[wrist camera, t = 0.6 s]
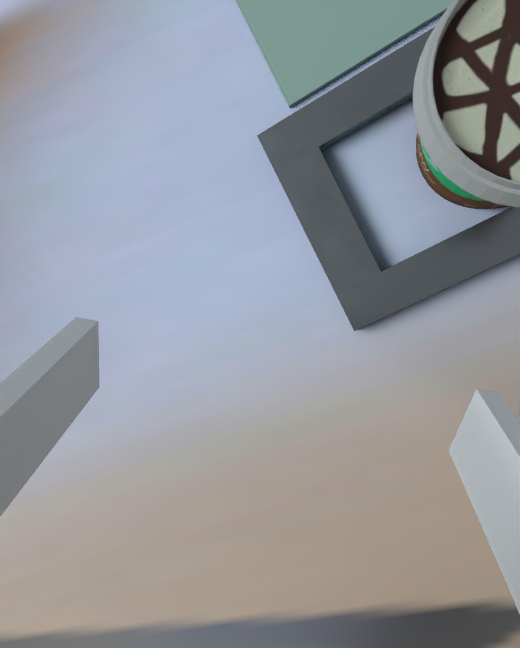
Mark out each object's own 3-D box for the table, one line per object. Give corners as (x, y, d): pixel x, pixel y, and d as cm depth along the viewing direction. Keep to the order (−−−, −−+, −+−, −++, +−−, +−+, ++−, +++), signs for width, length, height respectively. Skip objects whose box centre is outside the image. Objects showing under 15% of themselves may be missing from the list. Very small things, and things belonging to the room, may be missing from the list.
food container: (375, 90, 31) (385, -3, 21) (464, 52, 29) (518, -66, 20) (428, 254, 31) (462, 237, 21) (519, 224, 29) (601, 190, 20)
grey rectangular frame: (673, 180, 27) (687, 175, 26) (354, 329, 32) (354, 331, 31) (557, -40, 28) (566, -54, 27) (260, 141, 33) (257, 135, 32)
